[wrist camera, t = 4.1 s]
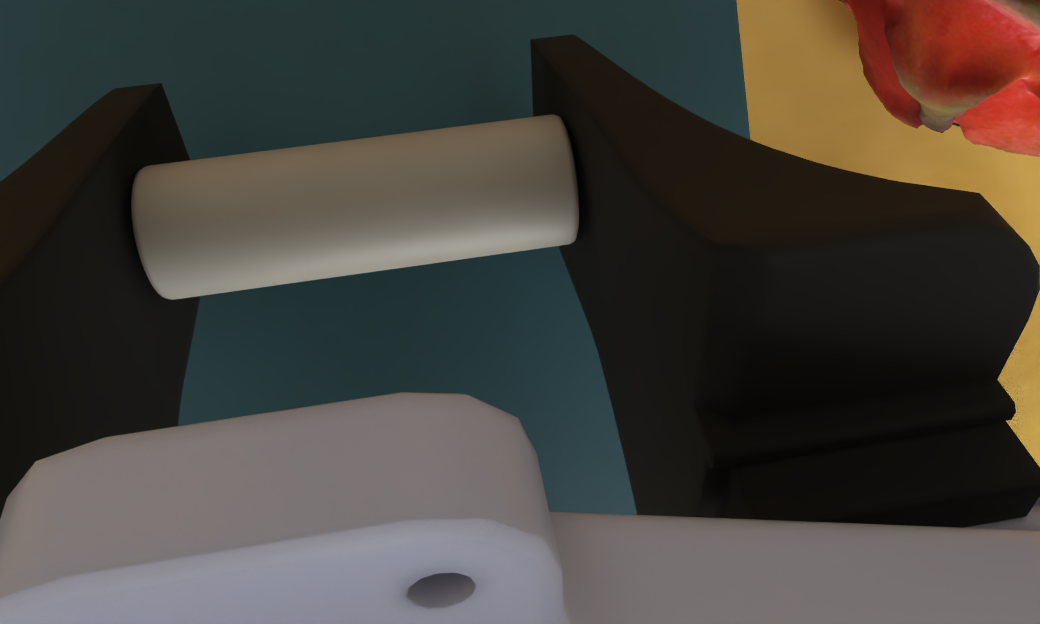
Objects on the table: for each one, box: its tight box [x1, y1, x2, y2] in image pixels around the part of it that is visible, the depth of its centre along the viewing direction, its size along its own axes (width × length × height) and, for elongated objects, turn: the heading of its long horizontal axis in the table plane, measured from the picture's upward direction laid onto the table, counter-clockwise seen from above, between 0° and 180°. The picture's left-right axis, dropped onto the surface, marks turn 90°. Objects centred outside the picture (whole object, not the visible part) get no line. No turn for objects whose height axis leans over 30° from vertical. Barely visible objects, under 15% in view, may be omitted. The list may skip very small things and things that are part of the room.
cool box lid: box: [0, 0, 750, 515], centre depth 12 cm, size 13×12×5 cm
